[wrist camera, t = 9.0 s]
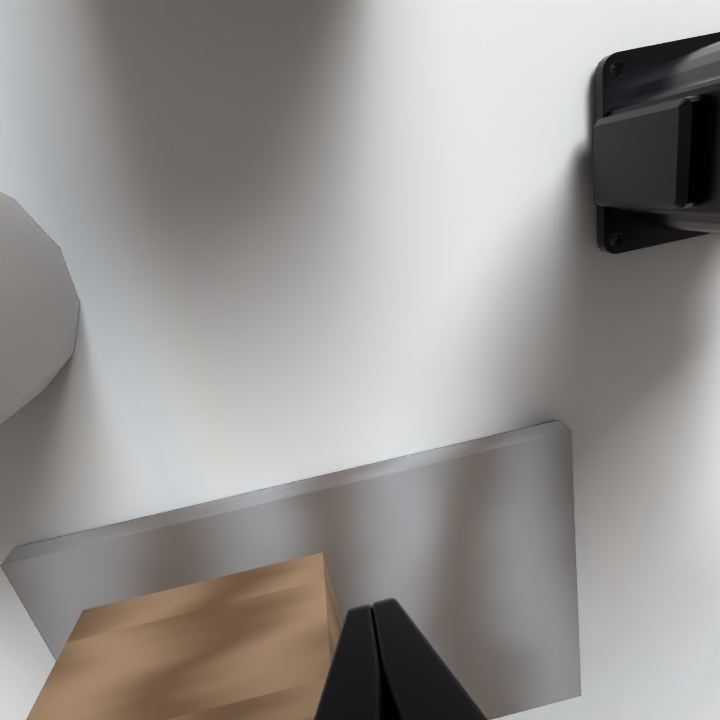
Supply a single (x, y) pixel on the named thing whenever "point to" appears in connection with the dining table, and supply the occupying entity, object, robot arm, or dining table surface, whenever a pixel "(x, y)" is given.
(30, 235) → the cup
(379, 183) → the dining table surface
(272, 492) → the wooden block on base
